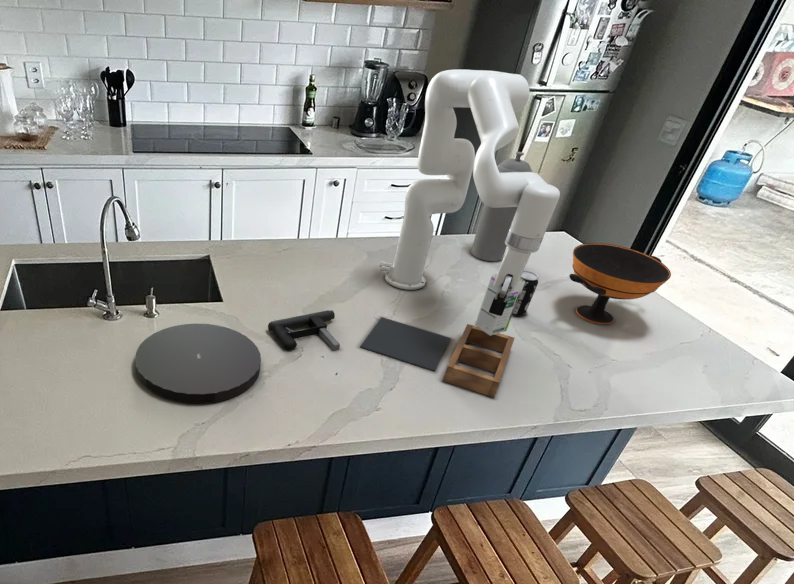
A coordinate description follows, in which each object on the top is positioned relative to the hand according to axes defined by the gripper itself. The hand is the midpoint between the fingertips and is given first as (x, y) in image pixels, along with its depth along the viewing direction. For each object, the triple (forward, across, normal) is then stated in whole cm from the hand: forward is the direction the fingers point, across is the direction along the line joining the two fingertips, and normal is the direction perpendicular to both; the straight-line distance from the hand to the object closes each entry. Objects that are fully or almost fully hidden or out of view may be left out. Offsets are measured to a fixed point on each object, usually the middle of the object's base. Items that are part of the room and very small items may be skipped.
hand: (498, 306), depth 143 cm
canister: (+16, -67, -11) cm, 70 cm away
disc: (+15, +45, -60) cm, 76 cm away
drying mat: (+15, +6, -19) cm, 24 cm away
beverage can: (+15, -30, +4) cm, 34 cm away
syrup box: (+7, 0, 0) cm, 7 cm away
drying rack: (+14, +6, 0) cm, 16 cm away
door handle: (+15, +18, -42) cm, 48 cm away
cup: (+15, -42, +26) cm, 52 cm away
